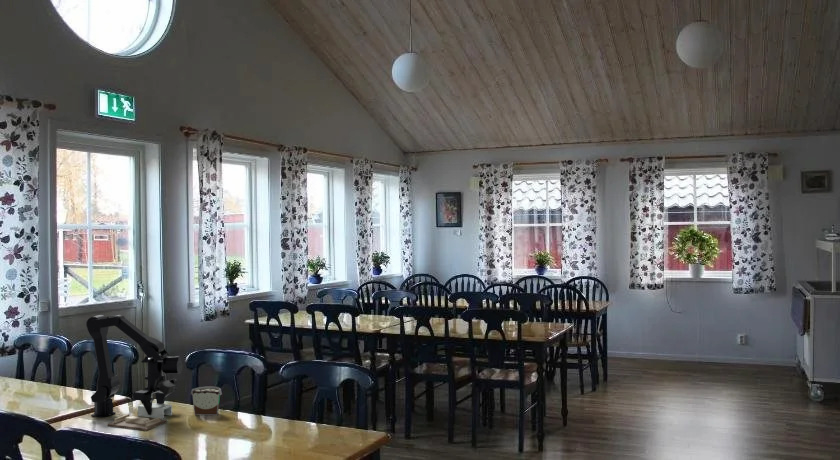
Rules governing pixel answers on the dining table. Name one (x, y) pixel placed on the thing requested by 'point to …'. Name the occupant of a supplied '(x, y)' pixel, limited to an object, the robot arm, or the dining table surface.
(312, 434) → the dining table surface
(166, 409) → the shell
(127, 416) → the dock
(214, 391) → the food container
